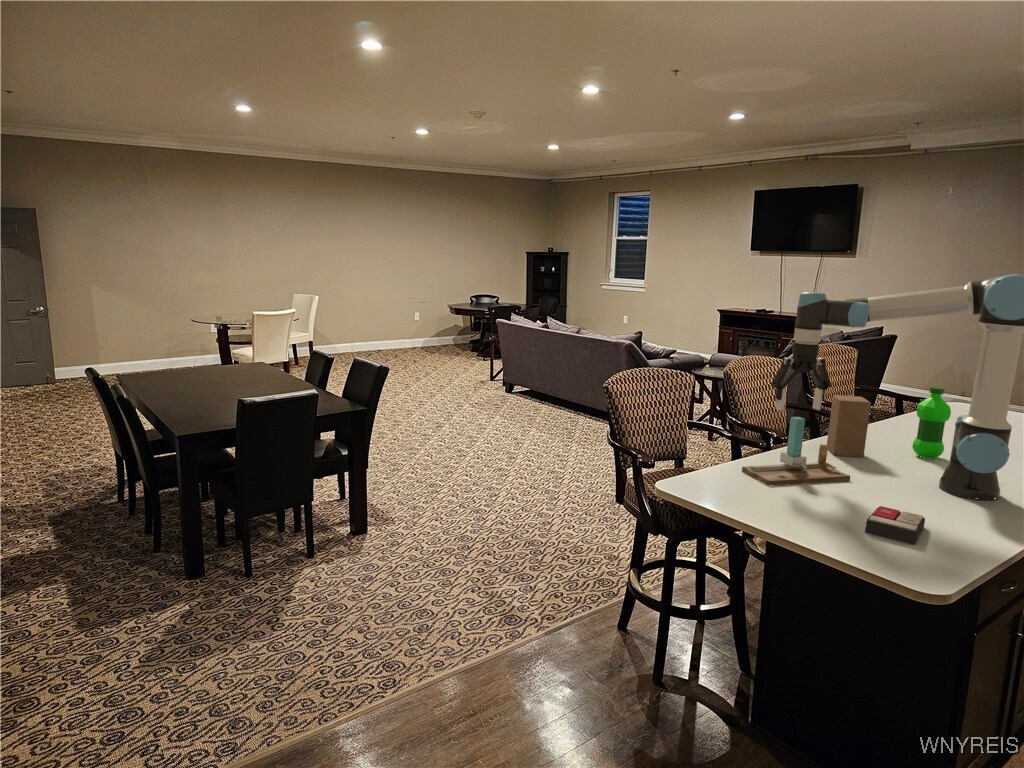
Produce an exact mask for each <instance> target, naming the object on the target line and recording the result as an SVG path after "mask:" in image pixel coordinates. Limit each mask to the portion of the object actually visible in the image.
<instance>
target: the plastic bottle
mask: <svg viewBox="0 0 1024 768" xmlns="http://www.w3.org/2000/svg"><path fill="white" fill-rule="evenodd" d="M944 391H945V388H943V387H939V386H930V388H929V393H930V396H929V397H928V398H925V399H924V400H922V401H920V402H919V403H918V404H917V407H916V416H917V417H918V418H919V422H918V427H917V435H916V437H915V438H914V440H913V441H912V450H913V452H914V453H915V454H916V455H917V456H918V457H919V456H921V457H925V458H924V459H926V458H935V459H936V458H938V457H940V456H941V455H943V453H944V452H945V451H944V450H945V445H944V442H943V438H944V431H945V425H946V422H947V421H949V420H950V417H951V414H952V409H951V406H949V404H948V403H947V402H946V401H945V400H944V399H943V398H942V395H944ZM921 457H920V458H921Z"/></svg>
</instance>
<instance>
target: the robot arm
mask: <svg viewBox="0 0 1024 768" xmlns="http://www.w3.org/2000/svg"><path fill="white" fill-rule="evenodd" d="M796 308H797V310H796V318H795V327H794V334H793V340H794V342H793V344H792V349H791V350H792V352H791V353H792V358H790V357H783V359H782V362H781V365H780V367H779V369H778V370H777V372H776V374H775V376H774V378H773V379H772V381H771V383H770V387H773V389H775V397H774V398H775V400H776V403H775V410H778V411H780V412H783V411H784V408H785V407H784V406H785V400H786V391H787V390H786V389H785V388H786V387H787V386H788V384H789V383H790V382H791V381H792V380H793V378H795V376H796V375H798V374H799V373H800V374H804V373H807V374H809V376H810V377H811V378H812V381H813V382H814V384H815V385H816V387H815V388H814V391H813V392H814V394H813V399H812V400H813V401H812V409H814V410H817V411H821V406H822V401H823V399H824V397H825V391H827V390H828V388H831V386H832V384H831V380H830V377H829V374H828V371H827V366H826V361H827V359H826V358H823V357H818V356H819V352H820V343H821V340H822V339H821V337H822V330H823V325H826V326H837V327H850V328H865V327H866V326H867V324H868V322H878V321H888V320H889V321H890V320H899V319H900V320H901V319H908V318H910V319H911V318H920V317H929V316H940V315H949V314H950V315H951V314H961V313H962V314H963V313H968V314H970V315H971V316H974V315H975V316H976V315H979V319H978V324H979V325H980V327H981V328H982V329H983V334H982V339H981V345H980V350H979V356H978V362H977V367H976V371H975V378H974V383H973V389H972V393H971V400H970V406H969V410H968V414H967V415H964V414H963V415H962V414H961V415H959V416H957V417H956V420H955V421H956V422H955V423H954V426H955V427H954V434H953V440H952V446H951V451H950V458H949V463H948V465H947V466H946V468H945V470H944V472H943V474H942V476H941V477H940V478H939V484H938V486H939V488H940V489H941V490H942V491H944V492H946V491H947V492H946V493H948V494H951V493H952V494H951V495H955V496H958V495H960V496H959V497H962V496H964V497H963V498H967V497H970V498H969V499H972V498H978V499H977V500H980V499H994V498H998V497H999V498H1000V494H1001V487H1000V484H999V478H998V473H997V471H999V470H1000V469H1002V468H1003V467H1004V466H1005V465H1006V464H1007V463H1008V460H1009V458H1010V454H1011V453H1010V448H1009V445H1010V439H1011V433H1012V429H1013V427H1012V425H1011V424H1010V422H1009V421H1008V420H1007V419H1008V418H1007V417H1008V412H1009V408H1010V402H1011V398H1012V397H1011V396H1012V393H1013V386H1014V382H1015V376H1016V372H1017V366H1018V361H1019V357H1020V351H1021V345H1022V341H1023V335H1024V275H1023V274H1019V273H1007V274H1000V275H997V276H994V277H991V278H985V279H980V280H975V281H969V282H968V283H967V284H965V285H963V286H954V287H945V288H938V289H930V290H929V289H927V290H922V291H921V290H920V291H910V292H904V293H896V294H887V295H878V296H871V297H862V298H847V299H845V300H831V299H827V295H826V293H825V292H815V291H813V292H812V291H804V292H801V293H800V294H799V298H798V304H797V306H796ZM816 367H817V368H816ZM999 498H998V499H999Z"/></svg>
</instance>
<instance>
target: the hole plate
mask: <svg viewBox="0 0 1024 768" xmlns="http://www.w3.org/2000/svg"><path fill="white" fill-rule="evenodd" d="M828 451H829V450H828V445H827V444H824V443H820V444H819V448H818V457H817V461H816V462H806V467H807V472H806V473H804V468H802V467H791V466H789V465H787V464H785V463H782V464H781V463H780V464H765V465H761V464H760V465H750V466H742V467H741V468H742V469H741V472H742V471H743V472H742V473H744V472H745V474H746V473H747V474H746V475H748V474H749V475H748V476H750V477H752V476H753V477H752V478H754V479H755V478H756V480H757V479H758V480H757V481H759V480H760V482H761V481H762V483H763V482H764V483H763V484H765V483H766V484H765V485H766V486H769V485H774V486H785V485H786V484H789V485H802V484H803V483H805V484H816V483H817V484H818V483H820V482H821V483H831V482H833V483H834V482H848V481H849V480H850V481H851V475H849V474H846V473H845V472H843V471H840V470H838V469H837V466H835V465H833V464H830V463H828V462H827V457H828Z"/></svg>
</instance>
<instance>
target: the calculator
mask: <svg viewBox="0 0 1024 768" xmlns="http://www.w3.org/2000/svg"><path fill="white" fill-rule="evenodd" d="M925 521H926V517H924V516H923V515H921V514H917V513H913V512H908V511H900V510H899V509H896V508H891V507H886V506H882V505H879V507H877V508H876V509H875V510H874V511H873V512H872V513H871V515H870V516H869V517H868V518H867V519H866V522H865V528H864V529H865V530H864V533H865V534H869V535H873V536H877V537H879V538H880V537H881V538H885V539H888V540H892V541H897V542H901V543H903V544H909V545H913V546H915V545H917V542H918V540H919V537H920V536H921V534H922V532H923V531H924V528H925Z"/></svg>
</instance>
